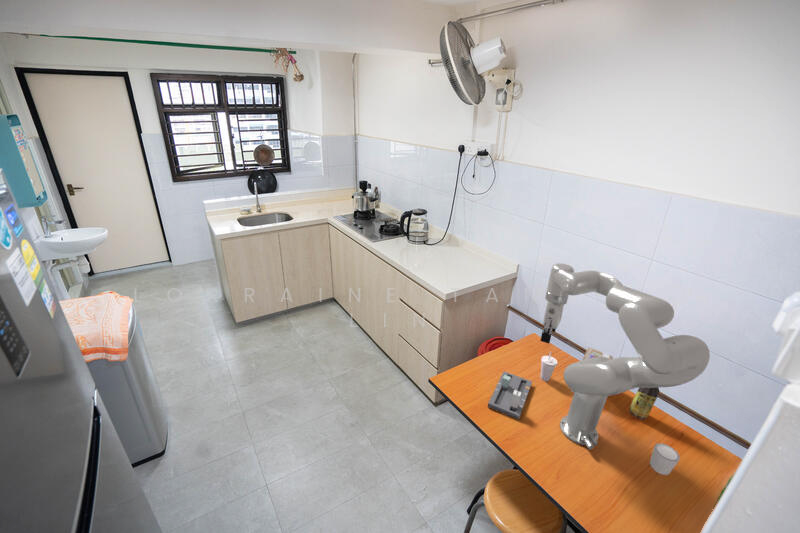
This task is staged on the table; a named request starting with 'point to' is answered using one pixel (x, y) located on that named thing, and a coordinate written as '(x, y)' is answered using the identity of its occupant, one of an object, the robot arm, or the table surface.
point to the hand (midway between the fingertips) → (547, 336)
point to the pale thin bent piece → (594, 355)
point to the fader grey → (515, 399)
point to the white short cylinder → (664, 459)
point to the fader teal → (505, 382)
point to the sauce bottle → (643, 402)
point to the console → (510, 395)
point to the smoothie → (547, 367)
